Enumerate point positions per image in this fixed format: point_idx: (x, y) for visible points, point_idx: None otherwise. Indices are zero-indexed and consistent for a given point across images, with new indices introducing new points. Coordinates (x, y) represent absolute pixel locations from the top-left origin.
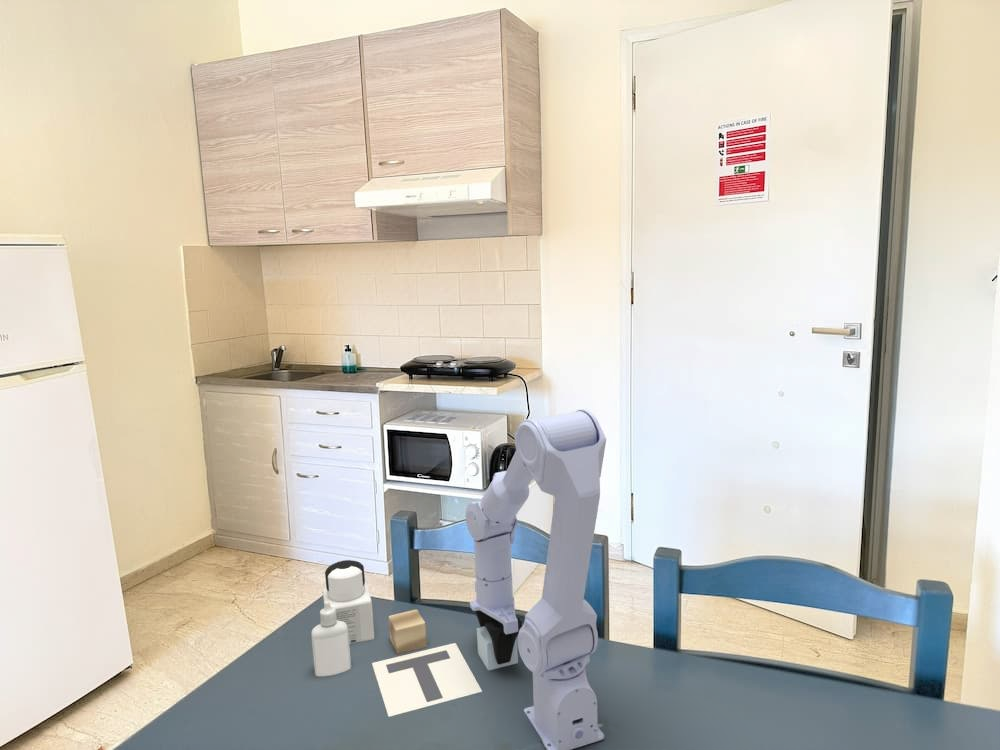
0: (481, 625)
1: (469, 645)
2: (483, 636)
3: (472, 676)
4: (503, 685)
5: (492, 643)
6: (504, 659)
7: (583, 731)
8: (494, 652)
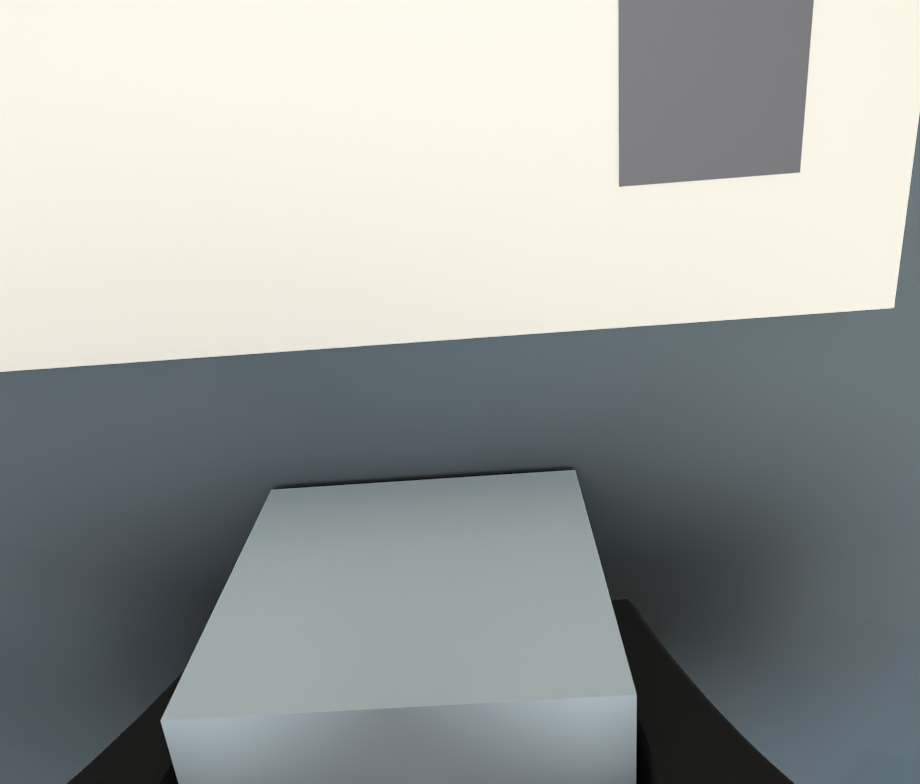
0: (656, 767)
1: (812, 434)
2: (367, 722)
3: (207, 343)
4: (86, 556)
5: (158, 778)
6: None
7: None
8: None
